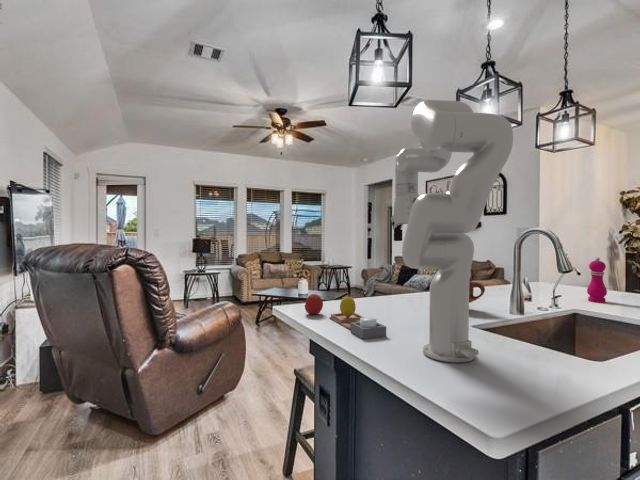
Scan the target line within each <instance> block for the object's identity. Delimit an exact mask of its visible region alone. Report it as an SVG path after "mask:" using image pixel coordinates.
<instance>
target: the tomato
mask: <svg viewBox="0 0 640 480" xmlns="http://www.w3.org/2000/svg"><path fill="white" fill-rule="evenodd" d="M303 302H304V303H305V304H304V309H305V312H306V313H308V314H309V315H313V316H316V315H318V314H319V313H321V311H322V309H323V306H324V300H323V299H322V297H321V295H318V294H317V293H311V294H310V295H308V296H307V298H306V300H303Z"/></svg>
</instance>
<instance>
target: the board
mask: <svg viewBox="0 0 640 480" xmlns="http://www.w3.org/2000/svg"><path fill="white" fill-rule="evenodd" d="M360 318H365V317H364V316H363V315H361V314H357V313H356V312H354V314H353V315H352V316H350V317H349V318H347V317H346V316H344V315H343V314H342V313H341V312H338V313H330V316H329V319H330V320H331V321H333V322H335V323H337V324H338V325H340V326H341V327H344V328H346V329H348V330H350V331H351V323H354V322H360Z"/></svg>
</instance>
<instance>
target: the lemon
mask: <svg viewBox="0 0 640 480" xmlns="http://www.w3.org/2000/svg"><path fill="white" fill-rule="evenodd" d="M339 310H340V313H342V314H343V315H344V316H346V317H347V318H349V317H350V316H352V315H353V314H354V313H356V302H355V300H354V298H353V297H351V296H350V295H346V296H344V297H343V298H341V301H340V304H339Z"/></svg>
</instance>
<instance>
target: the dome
mask: <svg viewBox="0 0 640 480" xmlns="http://www.w3.org/2000/svg"><path fill="white" fill-rule="evenodd" d="M376 322H377V318H374V317H370V316H369V317H368V316H367V317H365V318H360V326H361V327H363V328H368V327H376Z"/></svg>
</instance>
